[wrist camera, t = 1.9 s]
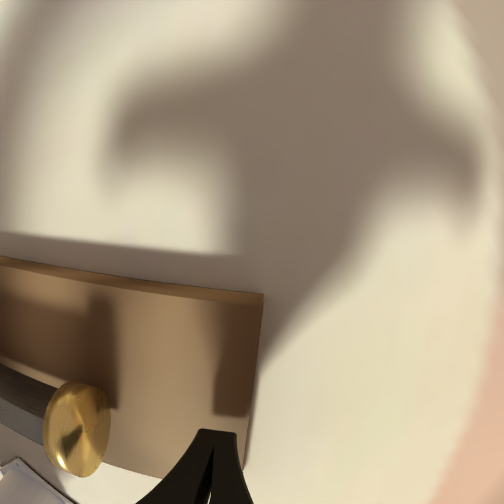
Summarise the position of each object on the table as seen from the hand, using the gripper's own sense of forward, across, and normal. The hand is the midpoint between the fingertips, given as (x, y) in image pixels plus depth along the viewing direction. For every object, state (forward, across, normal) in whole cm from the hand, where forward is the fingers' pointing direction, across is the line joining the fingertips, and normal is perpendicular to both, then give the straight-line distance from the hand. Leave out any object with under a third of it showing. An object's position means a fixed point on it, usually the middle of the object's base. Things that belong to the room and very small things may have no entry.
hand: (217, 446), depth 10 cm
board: (+3, +11, 0) cm, 12 cm away
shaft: (+1, +11, 0) cm, 11 cm away
